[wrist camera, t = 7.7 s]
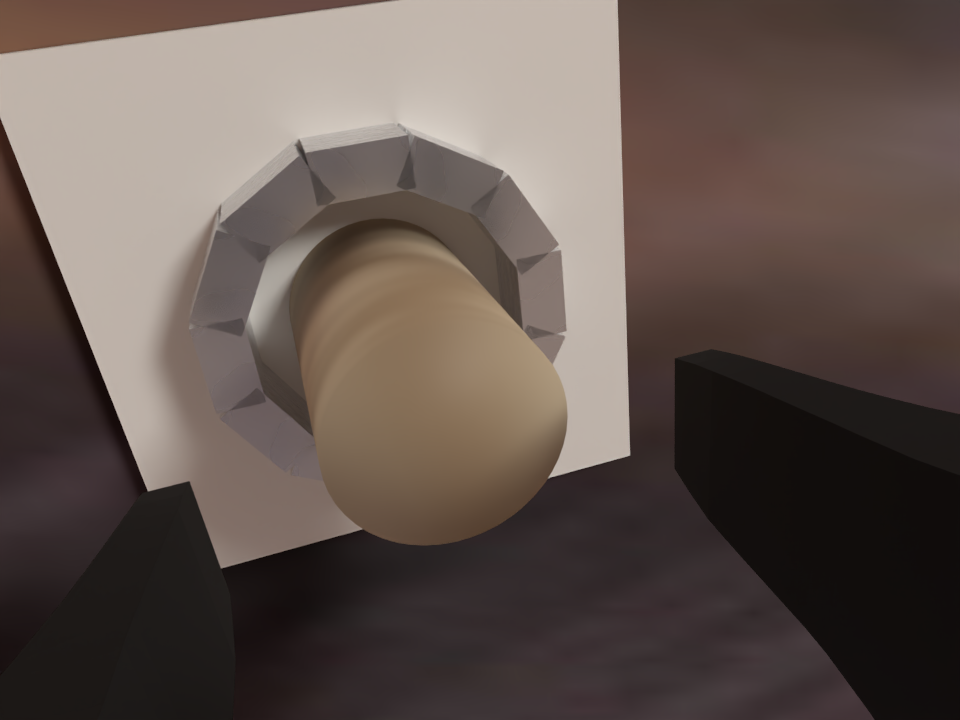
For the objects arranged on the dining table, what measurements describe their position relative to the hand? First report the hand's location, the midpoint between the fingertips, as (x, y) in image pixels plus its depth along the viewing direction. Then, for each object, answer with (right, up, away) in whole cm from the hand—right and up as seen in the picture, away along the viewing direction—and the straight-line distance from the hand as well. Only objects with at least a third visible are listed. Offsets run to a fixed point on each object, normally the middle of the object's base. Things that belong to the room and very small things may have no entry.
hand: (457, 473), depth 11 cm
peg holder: (-2, +3, +7) cm, 8 cm away
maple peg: (-2, +3, +6) cm, 7 cm away
